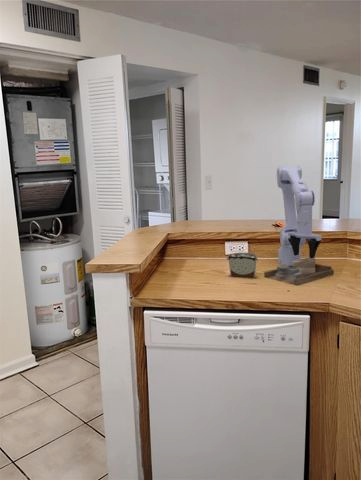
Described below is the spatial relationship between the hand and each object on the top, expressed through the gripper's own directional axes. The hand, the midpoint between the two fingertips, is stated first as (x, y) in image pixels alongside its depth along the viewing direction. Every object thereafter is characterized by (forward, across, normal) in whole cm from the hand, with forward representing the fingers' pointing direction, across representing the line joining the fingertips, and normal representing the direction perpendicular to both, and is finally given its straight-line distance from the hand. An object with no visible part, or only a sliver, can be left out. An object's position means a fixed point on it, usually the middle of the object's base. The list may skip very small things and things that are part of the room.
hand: (304, 256), depth 163 cm
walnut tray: (+8, 0, -3) cm, 9 cm away
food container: (+9, -15, -18) cm, 25 cm away
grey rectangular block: (+7, 0, 0) cm, 7 cm away
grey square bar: (+7, 0, -9) cm, 12 cm away
